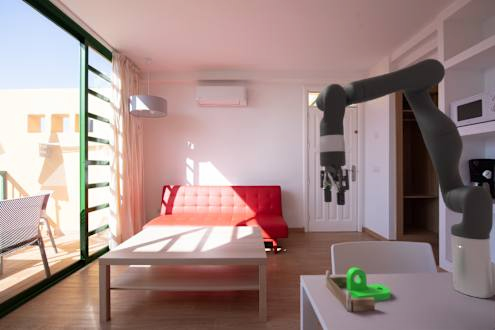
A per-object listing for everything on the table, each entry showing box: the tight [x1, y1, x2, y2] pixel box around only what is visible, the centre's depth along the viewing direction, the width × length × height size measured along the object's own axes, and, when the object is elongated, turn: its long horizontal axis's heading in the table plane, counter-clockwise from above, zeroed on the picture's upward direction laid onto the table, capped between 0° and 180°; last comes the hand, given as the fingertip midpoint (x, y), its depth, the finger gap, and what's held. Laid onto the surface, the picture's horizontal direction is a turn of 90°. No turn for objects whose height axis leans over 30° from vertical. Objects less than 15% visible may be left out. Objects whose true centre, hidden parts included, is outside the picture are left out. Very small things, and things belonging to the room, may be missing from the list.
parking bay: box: [325, 270, 376, 313], centre depth 77 cm, size 8×16×5 cm, turn 4°
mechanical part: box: [346, 266, 391, 302], centre depth 78 cm, size 12×6×8 cm, turn 100°
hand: (334, 203), depth 77 cm, fingers open, 8 cm apart
